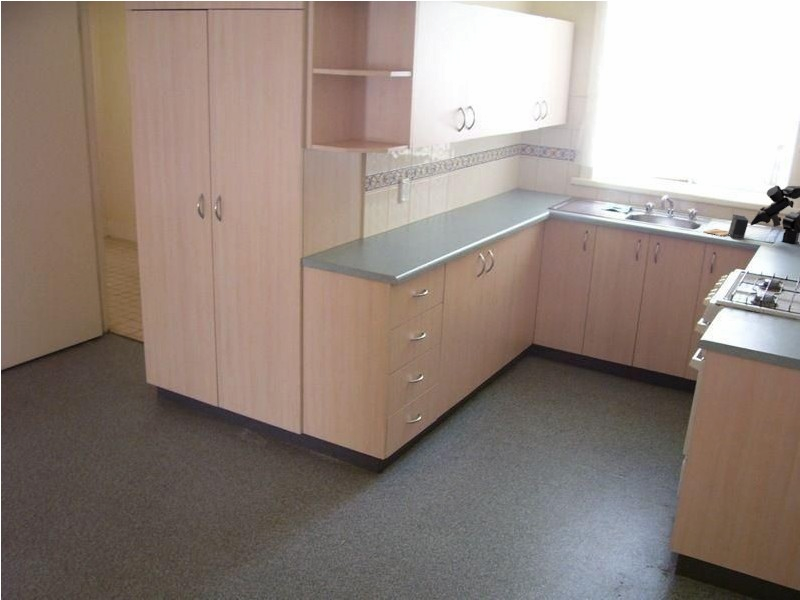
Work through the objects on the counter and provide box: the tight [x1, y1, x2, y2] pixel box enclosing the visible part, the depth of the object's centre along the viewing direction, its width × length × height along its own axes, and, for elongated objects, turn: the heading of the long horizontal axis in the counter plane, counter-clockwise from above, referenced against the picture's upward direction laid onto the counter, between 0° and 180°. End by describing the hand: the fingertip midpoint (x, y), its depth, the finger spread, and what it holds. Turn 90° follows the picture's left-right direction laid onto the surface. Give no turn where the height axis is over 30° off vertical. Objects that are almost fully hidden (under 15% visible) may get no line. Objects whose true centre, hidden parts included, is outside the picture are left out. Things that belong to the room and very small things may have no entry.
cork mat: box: [703, 228, 730, 237], centre depth 427 cm, size 11×13×1 cm
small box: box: [728, 214, 749, 240], centre depth 418 cm, size 11×6×10 cm, turn 169°
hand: (750, 224), depth 414 cm, fingers closed
